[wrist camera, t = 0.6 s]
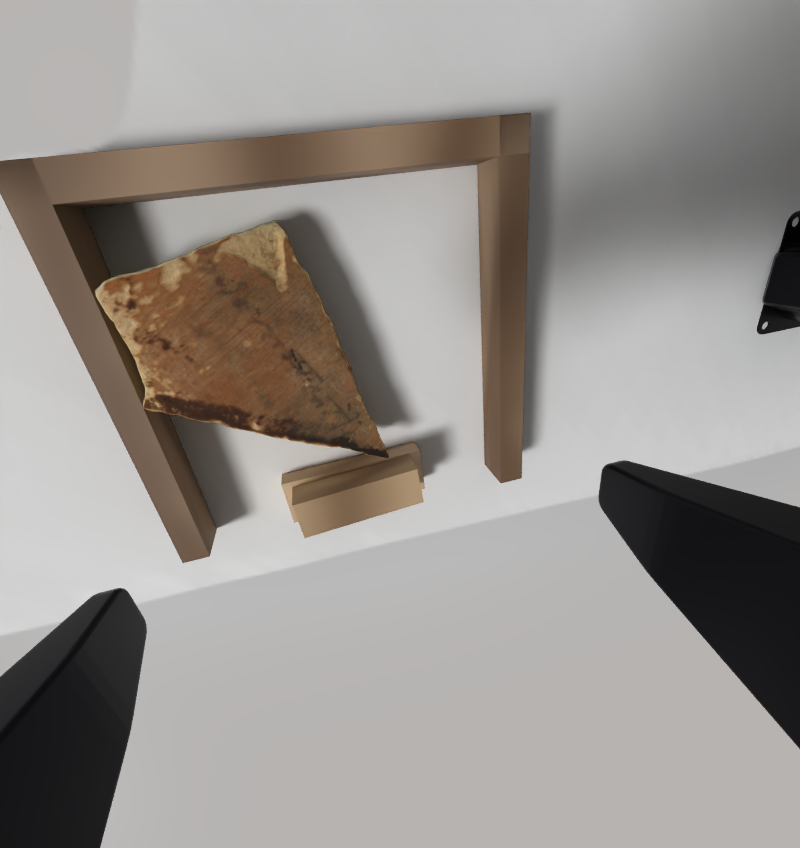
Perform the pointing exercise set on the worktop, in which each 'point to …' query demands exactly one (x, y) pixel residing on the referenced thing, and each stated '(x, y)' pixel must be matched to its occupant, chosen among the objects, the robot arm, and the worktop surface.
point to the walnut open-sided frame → (254, 169)
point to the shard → (241, 343)
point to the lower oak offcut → (346, 469)
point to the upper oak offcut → (356, 495)
